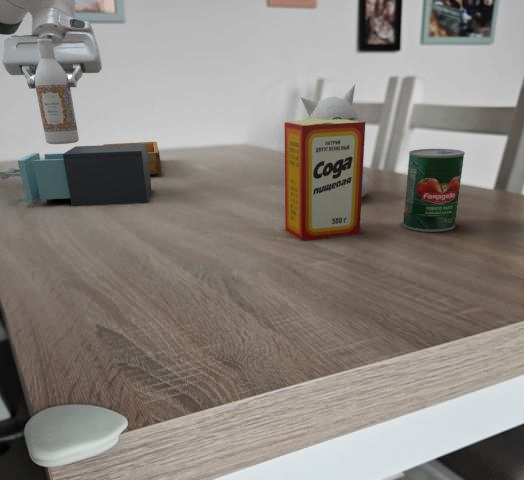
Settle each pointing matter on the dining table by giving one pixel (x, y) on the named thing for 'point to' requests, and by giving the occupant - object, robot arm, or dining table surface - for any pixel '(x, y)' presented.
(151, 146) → the tray
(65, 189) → the drawer
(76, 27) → the robot arm
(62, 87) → the bath foam
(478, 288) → the dining table surface
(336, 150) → the baking soda box
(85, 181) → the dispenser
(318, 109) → the decorative figurine
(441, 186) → the canned tomato
